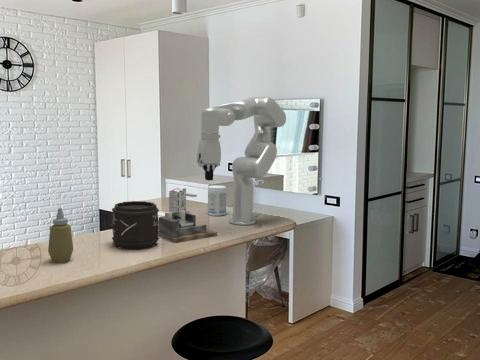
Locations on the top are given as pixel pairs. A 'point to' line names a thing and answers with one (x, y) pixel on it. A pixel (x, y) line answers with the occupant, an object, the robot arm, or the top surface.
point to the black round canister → (135, 225)
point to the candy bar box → (177, 200)
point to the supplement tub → (216, 200)
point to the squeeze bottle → (60, 239)
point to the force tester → (175, 234)
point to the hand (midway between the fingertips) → (209, 179)
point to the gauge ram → (187, 220)
